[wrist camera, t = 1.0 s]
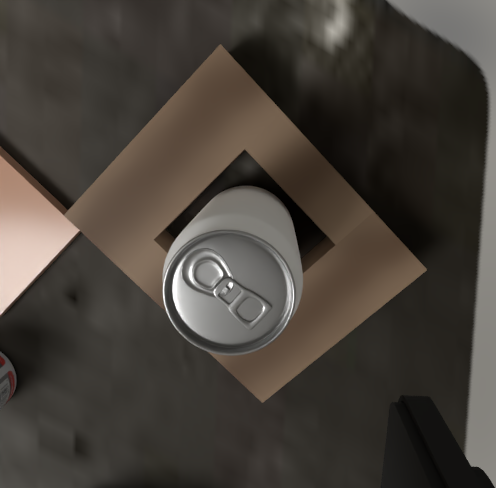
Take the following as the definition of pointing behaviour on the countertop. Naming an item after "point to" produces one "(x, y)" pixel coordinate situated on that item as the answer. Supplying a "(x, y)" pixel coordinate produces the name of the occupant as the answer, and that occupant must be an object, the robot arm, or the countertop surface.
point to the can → (234, 273)
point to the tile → (27, 230)
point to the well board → (286, 176)
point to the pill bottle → (6, 380)
